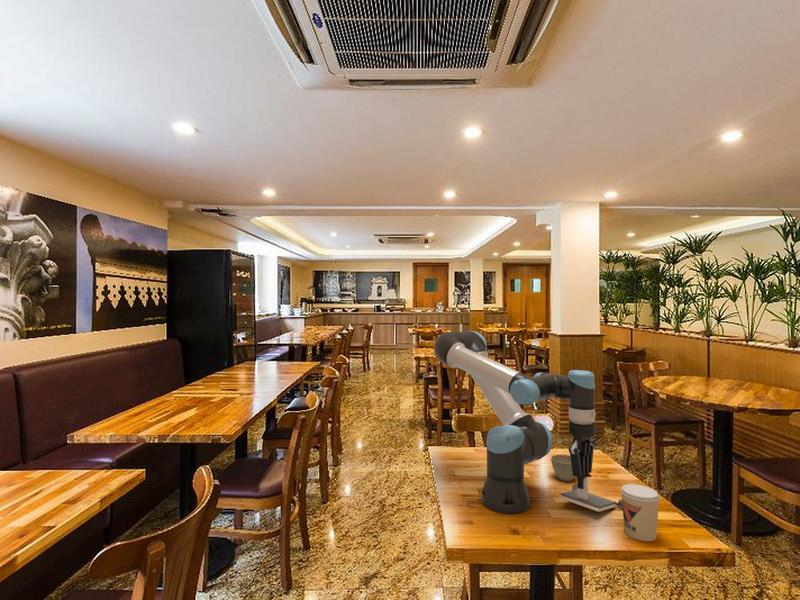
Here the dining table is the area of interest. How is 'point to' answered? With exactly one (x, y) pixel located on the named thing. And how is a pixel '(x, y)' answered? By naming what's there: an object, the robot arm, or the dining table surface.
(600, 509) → the tile
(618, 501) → the hinge bracket
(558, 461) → the flower pot
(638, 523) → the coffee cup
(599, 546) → the dining table surface
